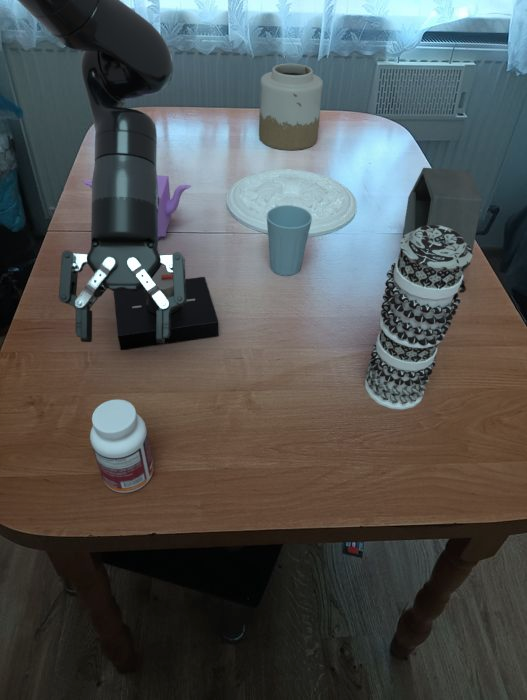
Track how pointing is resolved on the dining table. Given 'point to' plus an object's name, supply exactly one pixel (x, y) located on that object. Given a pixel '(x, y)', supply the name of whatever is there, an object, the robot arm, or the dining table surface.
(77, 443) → the dining table surface
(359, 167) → the dining table surface
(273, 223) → the cup
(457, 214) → the planter
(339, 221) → the ceiling medallion
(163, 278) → the hob knob
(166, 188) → the teapot
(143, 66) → the robot arm
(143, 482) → the pill bottle
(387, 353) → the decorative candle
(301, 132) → the vase
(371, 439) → the dining table surface
